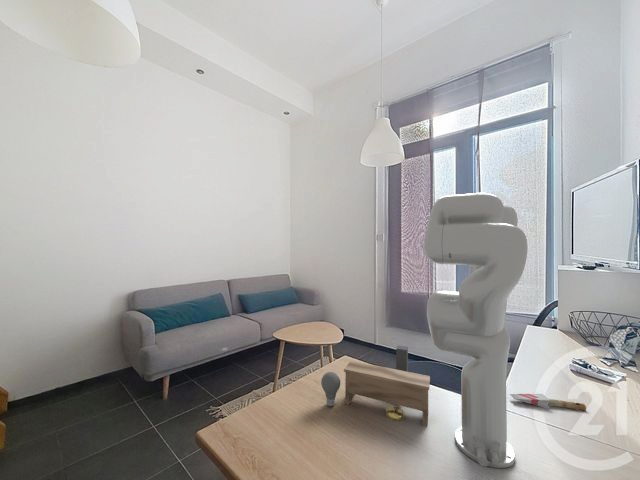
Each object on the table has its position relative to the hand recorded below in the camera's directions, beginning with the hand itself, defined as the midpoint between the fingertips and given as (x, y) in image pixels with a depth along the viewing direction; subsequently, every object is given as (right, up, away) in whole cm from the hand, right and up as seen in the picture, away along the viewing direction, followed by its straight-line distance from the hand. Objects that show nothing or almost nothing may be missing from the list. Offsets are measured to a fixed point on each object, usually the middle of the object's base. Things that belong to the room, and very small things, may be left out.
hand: (481, 303), depth 87 cm
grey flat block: (-26, -31, +2) cm, 41 cm away
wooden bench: (-33, -31, -6) cm, 46 cm away
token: (-32, -31, -10) cm, 45 cm away
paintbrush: (+18, -32, -4) cm, 37 cm away
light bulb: (-51, -31, -5) cm, 59 cm away
